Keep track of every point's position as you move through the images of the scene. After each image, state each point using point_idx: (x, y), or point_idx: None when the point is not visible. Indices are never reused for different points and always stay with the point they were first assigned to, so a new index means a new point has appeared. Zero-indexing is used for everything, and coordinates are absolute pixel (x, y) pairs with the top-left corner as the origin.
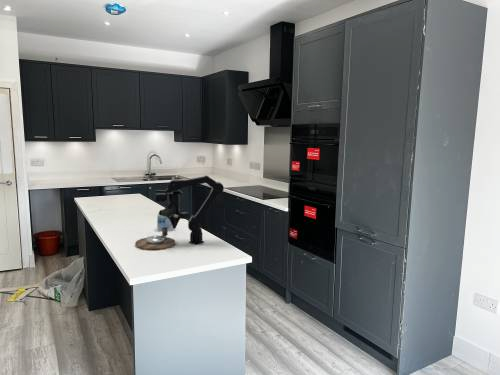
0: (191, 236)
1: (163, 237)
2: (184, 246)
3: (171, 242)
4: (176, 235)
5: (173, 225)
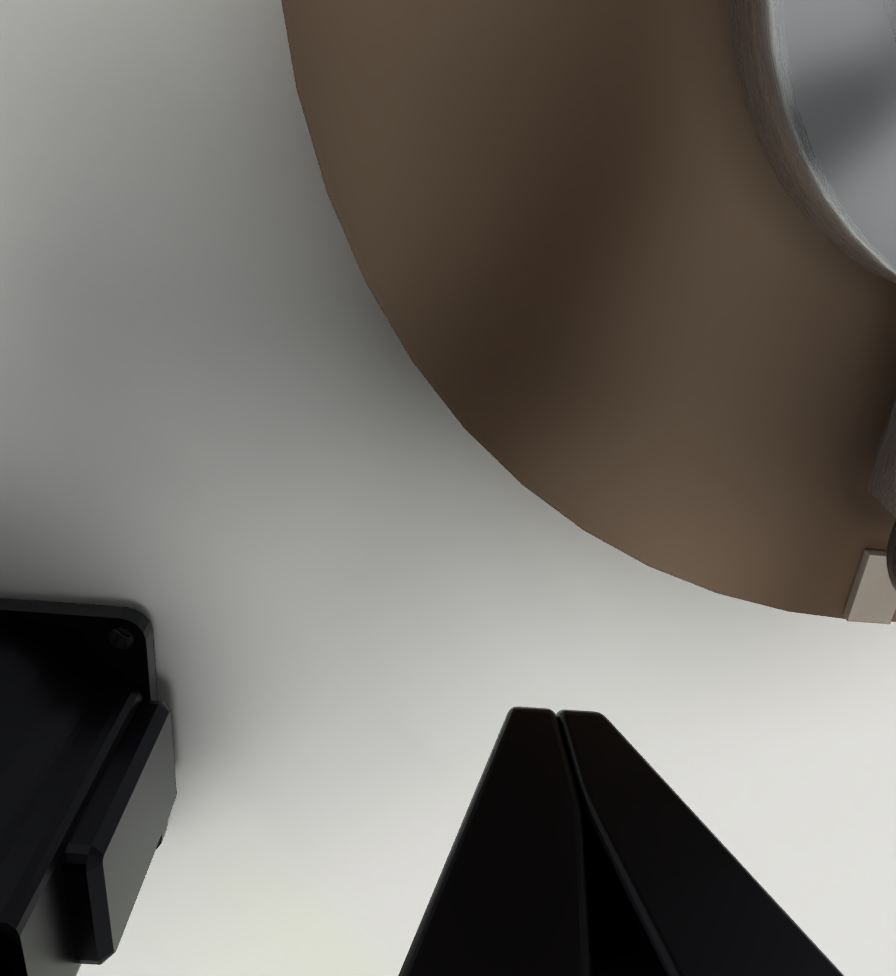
0: (40, 791)
1: (886, 191)
2: (6, 277)
3: (459, 203)
4: (815, 937)
5: (603, 859)
